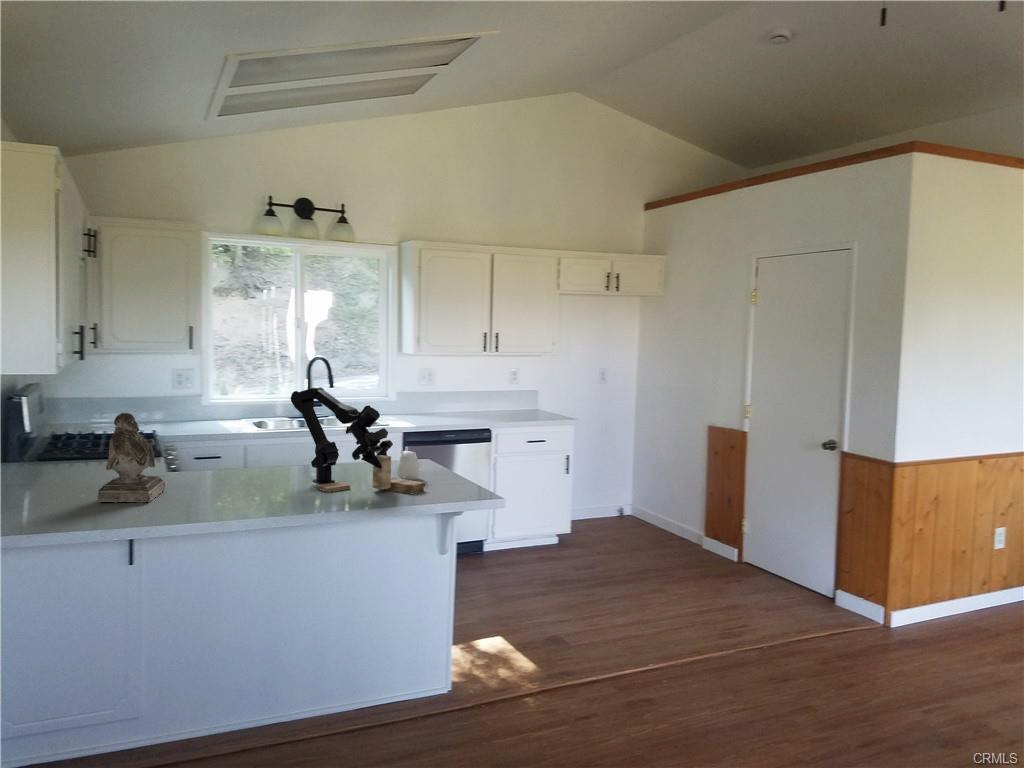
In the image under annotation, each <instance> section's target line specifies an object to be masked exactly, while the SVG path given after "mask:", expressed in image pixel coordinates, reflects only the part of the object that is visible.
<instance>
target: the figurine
mask: <svg viewBox="0 0 1024 768" xmlns="http://www.w3.org/2000/svg"><path fill="white" fill-rule="evenodd" d="M396 466H397V467H396V476H397V477H398V479H405V480H411V481H415V480H416V479H418V478H419V477H420V476H421V474H422V470H421V469H420V467H421V466H422V462H420V461H419V460H418V456H417V453H416V451H412V450H411V451H410V450H403V451H402V450H401V451H400V456H399V459H398V463H397V465H396Z"/></svg>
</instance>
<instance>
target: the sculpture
mask: <svg viewBox="0 0 1024 768" xmlns="http://www.w3.org/2000/svg"><path fill="white" fill-rule="evenodd" d="M113 424H114V426H115V428H114V431H113V434H112V435H111V437H110V439H109V446H108V457H107V458H108V459H107V462H106V465H105V466H106V467H105V469H106V470H108V471H110V470H113V471H114V472H116V473H117V474H118V475H119V476H118V477H115V478H113V479H111V480H110V481H108V482H106V483H105V484H104V485H102V487H101V488H100V489H98V491H97V492H98V493H97V501H98V503H100V502H148V503H151V502H152V501H154V500H155V499H156V498H157V497H158V496H157V495H159V494H160V493H161V492H162V491H164V492H165V489H166V483H165V481H164V479H163V478H161V476H159V475H157V476H156V475H144V474H142V473H143V472H144V470H145V469H147V468H149V467H150V468H154V467H156V464H155V463H156V460H155V459H156V458H155V452H154V448H153V446H154V445H155V440H154V439H153V438H149V439H147V438H144V437H143V436H142V435H141V434H140V433H139V431H140V427H139V425H138V422H136V418H135V417H134V415H133V414H132V413H129V412H121V413H120V414H118V415H116V417H115V418H114V420H113ZM161 494H162V493H161ZM161 494H160V495H161ZM160 495H159V496H160ZM156 496H157V497H156ZM155 497H156V498H155ZM154 498H155V499H154ZM153 499H154V500H153ZM151 500H152V501H151ZM150 501H151V502H150Z"/></svg>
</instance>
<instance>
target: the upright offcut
mask: <svg viewBox="0 0 1024 768" xmlns="http://www.w3.org/2000/svg"><path fill="white" fill-rule="evenodd" d="M375 456H376V455H375ZM376 457H377V459H378V461H379V462H380V464H381V466H382V468H381V469H379V468H377V467H376V466H374V465H372V488H373V489H377V490H378V489H379V490H384V489H387V488H390V485H391V477H392V476H391V475H392V472H391V471H392V455H387V456H385V455H378V456H376Z"/></svg>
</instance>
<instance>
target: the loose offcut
mask: <svg viewBox="0 0 1024 768" xmlns="http://www.w3.org/2000/svg"><path fill="white" fill-rule="evenodd" d="M316 488H318V489H321V490H323V491H322V492H324V491H326V492H328V493H330V492H329V491H334V492H338V491H337V490H341V491H346V490H345V489H347V490H350V489H351V484H348V483H345V482H341V481H336V482H328V483H321V484H317V485H316ZM318 489H317V490H318ZM321 490H320V491H321ZM326 492H325V493H326Z"/></svg>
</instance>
